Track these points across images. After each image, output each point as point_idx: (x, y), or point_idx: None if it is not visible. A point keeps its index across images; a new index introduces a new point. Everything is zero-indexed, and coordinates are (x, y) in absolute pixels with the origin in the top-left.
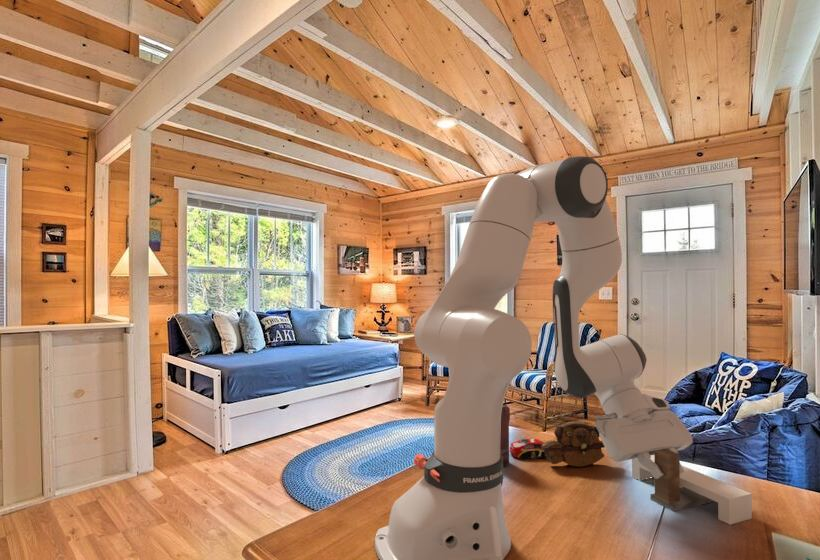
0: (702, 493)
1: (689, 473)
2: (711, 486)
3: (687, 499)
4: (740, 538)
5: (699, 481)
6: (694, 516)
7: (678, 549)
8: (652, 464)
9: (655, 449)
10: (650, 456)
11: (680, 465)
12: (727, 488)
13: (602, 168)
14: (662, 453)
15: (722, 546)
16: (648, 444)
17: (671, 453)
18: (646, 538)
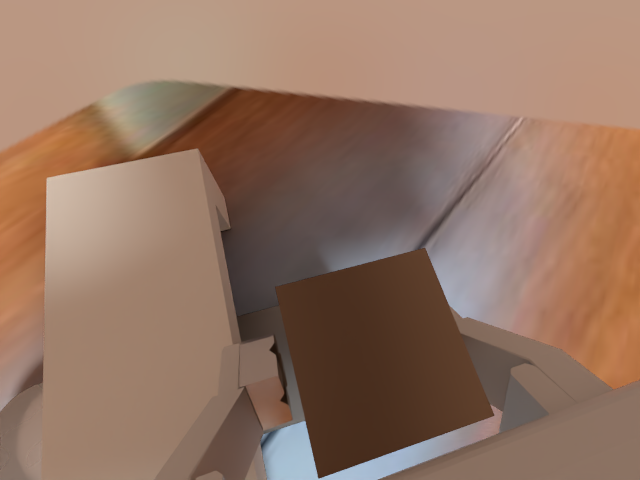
0: (223, 262)
1: (124, 441)
2: (160, 259)
3: (251, 333)
4: (257, 140)
5: (169, 319)
6: (294, 253)
7: (449, 121)
8: (489, 326)
9: (473, 444)
10: (517, 377)
11: (230, 367)
12: (101, 233)
13: None
14: (441, 324)
15: (334, 119)
16: (626, 477)
17: (344, 315)
18: (506, 166)
